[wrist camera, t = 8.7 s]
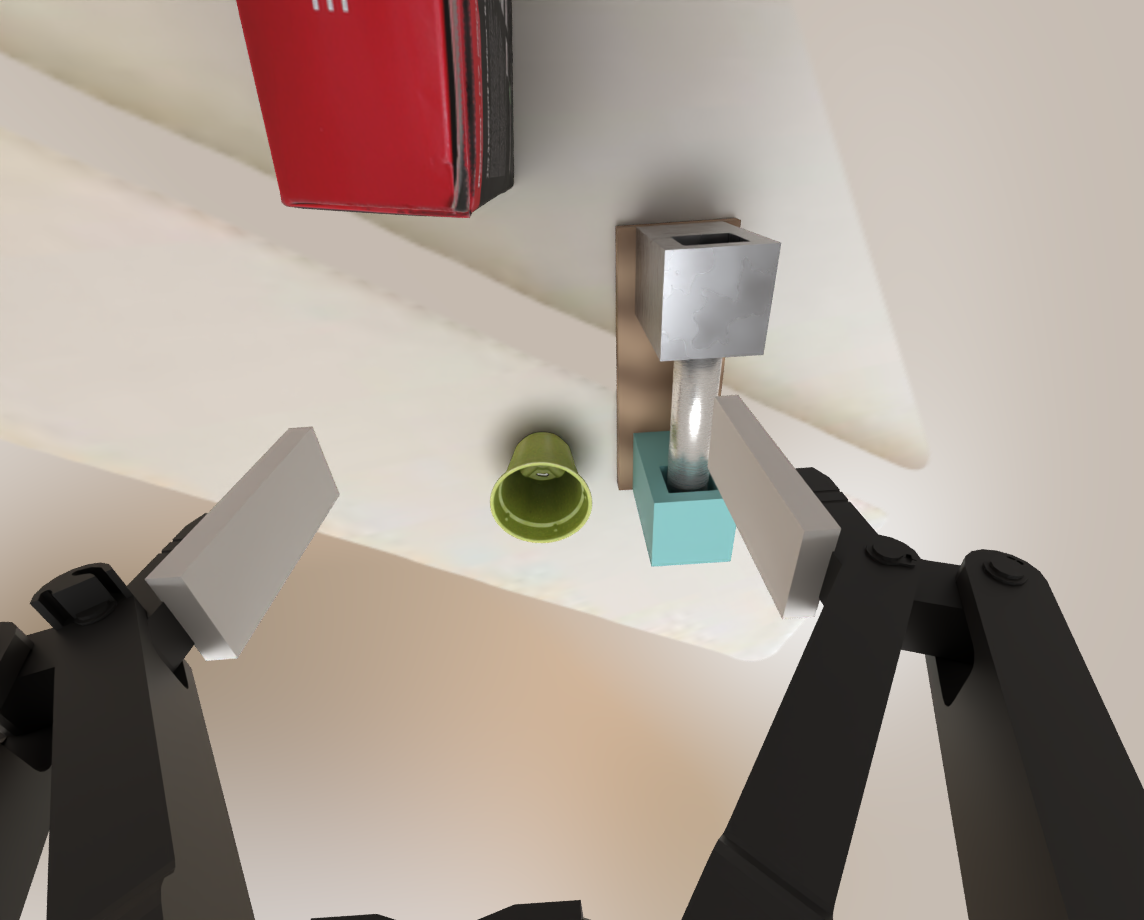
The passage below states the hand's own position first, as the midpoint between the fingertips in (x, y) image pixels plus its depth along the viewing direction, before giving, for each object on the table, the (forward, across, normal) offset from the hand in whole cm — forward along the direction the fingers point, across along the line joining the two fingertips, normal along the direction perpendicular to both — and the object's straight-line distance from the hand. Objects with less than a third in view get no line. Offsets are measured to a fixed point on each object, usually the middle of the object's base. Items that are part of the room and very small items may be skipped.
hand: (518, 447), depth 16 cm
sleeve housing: (+29, +12, -1) cm, 31 cm away
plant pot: (+30, -2, -19) cm, 36 cm away
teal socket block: (+29, +11, -20) cm, 37 cm away
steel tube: (+22, +12, -11) cm, 27 cm away
